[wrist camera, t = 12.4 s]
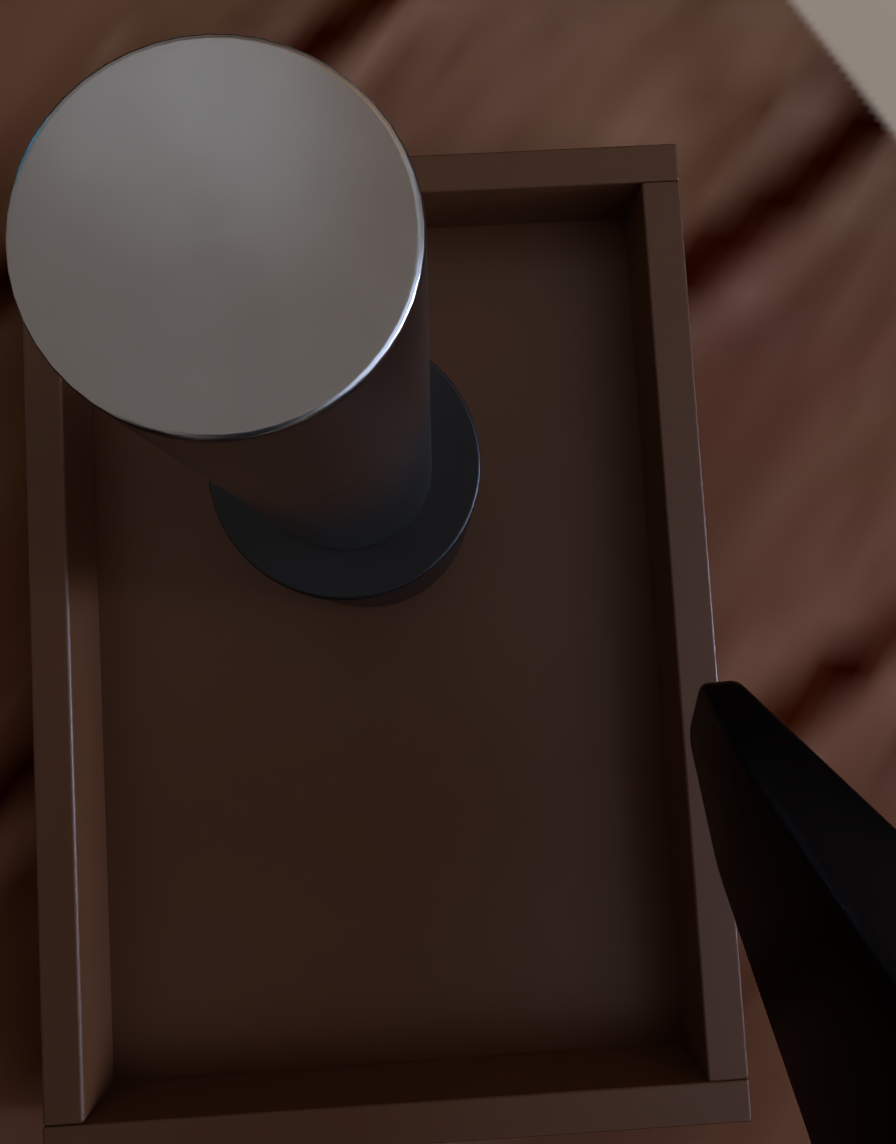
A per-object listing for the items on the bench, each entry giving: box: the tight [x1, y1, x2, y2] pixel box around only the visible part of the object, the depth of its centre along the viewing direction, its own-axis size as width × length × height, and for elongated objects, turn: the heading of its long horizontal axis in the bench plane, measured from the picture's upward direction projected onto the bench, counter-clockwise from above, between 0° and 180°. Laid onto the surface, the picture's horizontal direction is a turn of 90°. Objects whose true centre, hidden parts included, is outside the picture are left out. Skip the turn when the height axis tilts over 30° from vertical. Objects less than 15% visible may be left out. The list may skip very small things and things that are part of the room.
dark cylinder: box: [5, 34, 481, 607], centre depth 12 cm, size 4×4×13 cm
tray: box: [22, 144, 751, 1144], centre depth 18 cm, size 20×14×2 cm
